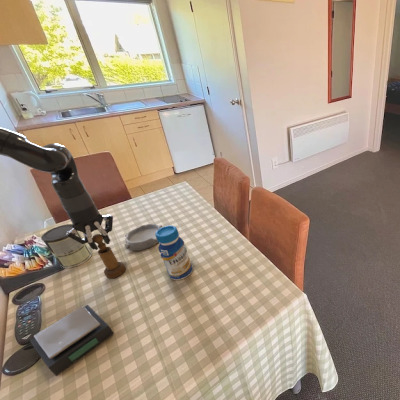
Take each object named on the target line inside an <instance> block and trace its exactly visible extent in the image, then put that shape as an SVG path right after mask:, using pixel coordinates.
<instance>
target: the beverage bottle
mask: <svg viewBox="0 0 400 400" xmlns="http://www.w3.org/2000/svg"><path fill="white" fill-rule="evenodd" d="M155 235H156V238H157V240H158V242H157V243H159V244H158V252H159V253H160V258H161V259H162V261H163V264H164V266H165V268H166V270H167V273H168V276H169V278H170V279H171V280H174V281H180V280H184V279H186V278H188V277H189V276H190V275H191V274H192V273H193V270H194V268H193V267H194V266H193V265H192V262H191V259H190V255H189V253H188V248H187V246H186V244H185V240H183V238H182V237H180V233H179V230H178V228H177V226H175V225H165V226H162V228H160V229H159V230H157V231H156V233H155Z"/></svg>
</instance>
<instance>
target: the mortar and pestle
mask: <svg viewBox="0 0 400 400" xmlns="http://www.w3.org/2000/svg"><path fill="white" fill-rule="evenodd" d="M92 240H93V241H94V242H95V244H96V245H97V247H98V250H97V254H98V256H99V258H100V260H101V262H102V263H103V264H104V267H105V268H104V270H103V274H104V275H105V277H106V278H107V279H116V278H118V277H121V276H122V275H123V274H124V273H126V270H127V267H126V265H125V263H124V262H122V261H118V259H117V257H116V256H115V253H114V251H113V250H112V248H111V247H110V246H107V244H106V243H105V242H104V240H103V236H102V235H101V233H95V234H93V235H92Z"/></svg>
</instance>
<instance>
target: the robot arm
mask: <svg viewBox="0 0 400 400" xmlns="http://www.w3.org/2000/svg"><path fill="white" fill-rule="evenodd" d="M0 156H3V157H7V158H10V159H12V160H14V161H16V162H18V163H20V164H23V165H24V166H27V167H29V168H31V169H33V170H36V171H39V172H43V173H48V174H50V176H51V181H50V184H51V187H52V189H53V190H54V192H55V194H56V196H57V197H58V199H59V202H60V205H61V206H62V208H63V210H64V211H65V214H67V217H68V218H69V220H70V222H71V224H73V226H72V227H73V228H72V229H71V230H70V231H67V232H65V234H66V235H67V236H68V237H70V238H72V239H74V240H76V241H77V242H79V243H81V244H85V243H86V244H88V247H89V248H90V249H92V250H95V251H99V248H98V244H97V243H95V242H94V241H93V240H92V237H93V234H92V233H93V232H95V231H98V232H99V234H101V235H102V236H103V243H105V244H106V245H110V243H111V238H110V236H109V235H108V234H109V233H110V232H112V231H113V223H114V216H113V215H111V214H109V213H106V214H104V215H103V214H101V213H100V211H99V209H98V207H97V205H96V203H95V202H94V199H93V198H92V196H91V193H89V192H88V190H87V188H86V186H85V184H84V182H83V181H82V178H81V177H80V175H79V171H78V167H77V164H76V161H75V158H74V156H73V154H72V152H71V151H70V150H69V149H68V148H67V147H66V146H64V145H61V144H59V143H48V144H44V145H43V146H39V145H37V144H35V143H32V142H30V141H29V138H27V136H25V135H23V134H21V133H18V132H15V131H14V130H13V131H12V130H9V129H7V128H4V127H1V126H0ZM103 221H105V223H104V226H102V224H103ZM76 230H77V231H79V233H82V235H83V236H84V238H83V237H82V238H83V239H82V238H80V237H78V236H76V235H77V233H76Z"/></svg>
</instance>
